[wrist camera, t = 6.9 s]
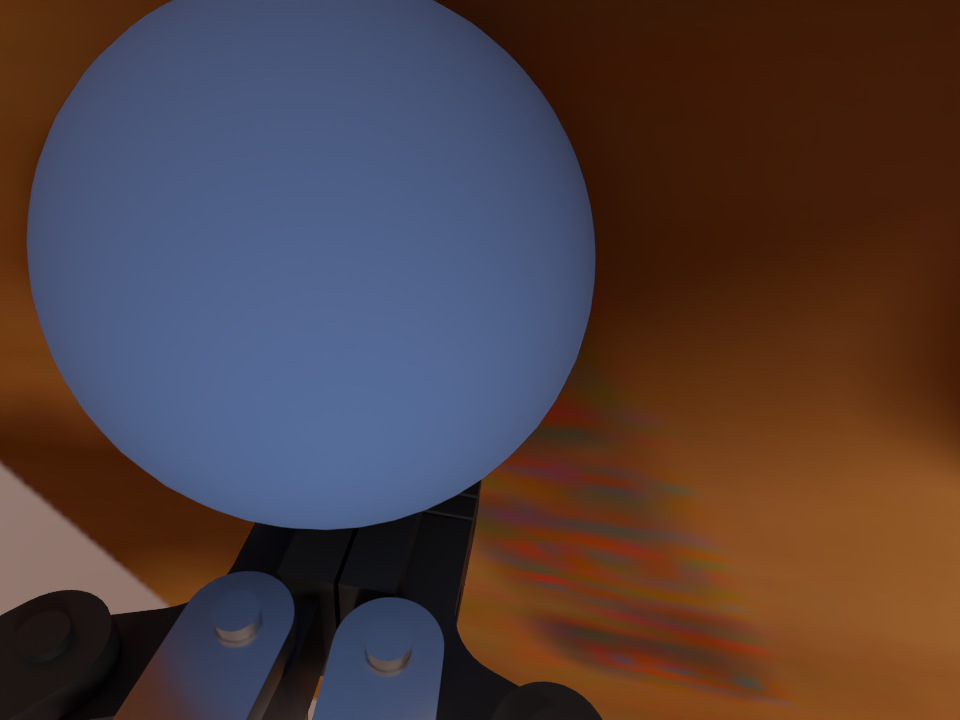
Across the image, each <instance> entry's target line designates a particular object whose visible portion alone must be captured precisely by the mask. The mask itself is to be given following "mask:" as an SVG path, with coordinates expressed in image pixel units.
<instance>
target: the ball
mask: <svg viewBox="0 0 960 720" xmlns="http://www.w3.org/2000/svg"><path fill="white" fill-rule="evenodd" d="M27 256H28V270H29V278H30V284H31V291H32V297H33V302H34V305H35V309H36V312H37V316H38V319H39V323H40V326H41V330H42V332H43V335H44V338H45V340H46V343H47V345H48V348H49V351H50V353H51V356H52V358H53V360H54V362H55V364H56V365H57V367H58V369H59V371H60V373H61V375H62V377H63V379H64V381H65V383H66V384H67V386H68V387H69V389H70V390H71V392H72V394H73V395H74V397H75V398H76V400H77V401H78V403H79V405H80V406H81V408H82V409H83V410H84V411H85V413H86V414H87V415H88V416H89V417H90V419H91V420H92V421H93V422H94V423H95V425H96V426H97V427H98V428H99V429H100V430H101V432H102V433H103V434H104V435H105V436H106V437H107V438H108V439H109V440H110V441H111V442H112V443H113V444H114V445H115V446H116V447H117V448H118V449H119V451H120V452H122V453H123V454H124V455H125V456H127V457H128V458H129V459H131V460H132V461H133V462H134V463H136V464H137V465H138V466H139V467H141V468H142V469H143V470H145V471H146V472H148V473H149V474H150V475H152V476H153V477H154V478H156V479H157V480H158V481H160V482H161V483H162V484H164V485H165V486H167V487H169V488H170V489H172V490H174V491H176V492H178V493H180V494H182V495H184V496H186V497H188V498H190V499H192V500H194V501H196V502H198V503H200V504H203V505H205V506H207V507H209V508H212V509H214V510H216V511H219V512H222V513H225V514H228V515H231V516H234V517H237V518H240V519H243V520H246V521H251V522H257V523H262V524H268V525H273V526H279V527H287V528H298V529H319V530H332V529H345V528H357V527H364V526H369V525H374V524H379V523H384V522H389V521H394V520H397V519H400V518H403V517H406V516H409V515H412V514H415V513H418V512H421V511H424V510H427V509H429V508H431V507H433V506H435V505H437V504H439V503H441V502H443V501H446V500H448V499H450V498H452V497H454V496H456V495H458V494H459V493H461V492H462V491H464V490H466V489H467V488H469V487H470V486H472V485H473V484H475V483H477V482H478V481H480V480H481V479H483V478H484V477H485V476H487V475H488V474H489V473H490V472H491V471H493V470H494V469H495V468H496V467H497V466H499V465H500V464H501V463H502V462H503V461H505V460H506V459H507V458H508V457H509V456H510V455H511V454H512V453H513V452H514V451H515V450H516V449H517V448H518V447H519V446H520V445H521V444H522V443H523V442H524V441H525V440H526V439H527V438H528V436H529V435H530V434H531V433H532V432H533V431H534V430H535V429H536V428H537V427H538V425H539V424H540V422H541V421H542V420H543V418H544V417H545V415H546V414H547V412H548V411H549V409H550V408H551V407H552V405H553V404H554V402H555V401H556V399H557V397H558V395H559V393H560V391H561V390H562V388H563V386H564V384H565V382H566V380H567V378H568V376H569V374H570V372H571V370H572V368H573V366H574V363H575V361H576V359H577V357H578V353H579V350H580V347H581V344H582V340H583V337H584V334H585V330H586V327H587V323H588V319H589V315H590V312H591V305H592V297H593V290H594V280H595V261H596V258H595V234H594V227H593V219H592V212H591V206H590V202H589V197H588V193H587V189H586V184H585V181H584V178H583V175H582V172H581V169H580V166H579V163H578V160H577V157H576V155H575V152H574V150H573V148H572V145H571V143H570V141H569V138H568V136H567V134H566V132H565V131H564V129H563V127H562V125H561V123H560V121H559V120H558V118H557V116H556V114H555V112H554V110H553V109H552V107H551V106H550V104H549V103H548V101H547V100H546V98H545V97H544V95H543V94H542V92H541V91H540V90H539V88H538V87H537V86H536V85H535V83H534V82H533V81H532V80H531V78H530V77H529V76H528V75H527V74H526V72H525V71H524V70H523V69H522V68H521V66H520V65H519V64H518V63H517V62H516V61H515V60H514V59H513V58H512V57H511V56H510V55H509V54H508V53H507V52H506V51H505V50H504V49H503V48H501V47H500V46H499V45H498V44H497V43H496V42H495V41H493V40H492V39H491V38H490V37H489V36H488V35H486V34H485V33H484V32H483V31H481V30H480V29H479V28H478V27H476V26H475V25H474V24H473V23H471V22H470V21H468V20H466V19H465V18H463V17H461V16H460V15H458V14H456V13H455V12H453V11H451V10H449V9H448V8H446V7H444V6H443V5H441V4H439V3H437V2H436V1H434V0H172V1H170V2H168V3H166V4H164V5H162V6H160V7H159V8H157V9H156V10H154V11H152V12H151V13H149V14H147V15H146V16H144V17H143V18H142V19H140V20H139V21H138V22H136V23H135V24H133V25H132V26H131V27H130V28H128V29H127V30H126V31H125V32H124V33H123V34H122V35H121V36H120V37H119V38H118V39H116V40H115V41H114V42H113V43H112V44H111V45H110V46H109V47H108V48H107V49H106V50H105V51H104V52H102V53H101V54H100V55H99V56H98V57H97V58H96V59H95V61H94V62H93V63H92V64H91V65H90V66H89V67H88V69H87V70H86V71H85V72H84V73H83V75H82V77H81V78H80V80H79V81H78V83H77V84H76V86H75V87H74V89H73V90H72V92H71V94H70V95H69V97H68V98H67V100H66V101H65V103H64V104H63V106H62V108H61V109H60V111H59V112H58V114H57V115H56V118H55V120H54V122H53V124H52V127H51V129H50V131H49V133H48V136H47V139H46V142H45V144H44V147H43V150H42V153H41V155H40V158H39V161H38V163H37V167H36V172H35V176H34V180H33V184H32V189H31V197H30V204H29V211H28V221H27Z"/></svg>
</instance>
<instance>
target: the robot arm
mask: <svg viewBox="0 0 960 720" xmlns="http://www.w3.org/2000/svg"><path fill="white" fill-rule="evenodd" d="M481 481H482V479H481V480H480V481H478V482H477V483H475V484H473V485H472V486H470V487H469V488H467V489H466V490H464V491H462V492H461V493H459V494H458V495H456V496H454V497H452V498H450V499H448V500H446V501H443V502H441V503H439V504H437V505H435V506H433V507H431V508H429V509H427V510H424V511H421V512H418V513H415V514H412V515H409V516H406V517H403V518H400V519H397V520H394V521H389V522H384V523H379V524H374V525H369V526H364V527H357V528H345V529H332V530H319V529H298V528H287V527H279V526H273V525H268V524H262V523H257V522H255V524H254V526H253V528H252V530H251V532H250V534H249V536H248V538H247V540H246V542H245V544H244V546H243V548H242V549H241V551H240V553H239V555H238V557H237V559H236V561H235V563H234V565H233V566H232V568H231V569H230V571H229V572H228V574H227V575H225V576H222V577H220V578H217V579H215V580H214V581H212V582H210V583H208V584H207V585H206V586H204V587H203V588H202V589H200V590H199V591H198V592H197V593H196V594H195V595H194V596H193V597H192V599H191V600H190V601H189V602H187V603H185V604H181V605H178V606H175V607H169V608H164V609H157V610H148V611H140V612H131V613H123V614H115V615H110V612H109V610H108V607H107V606H106V605H105V604H104V602H103V601H102V600H101V599H99V598H98V597H97V596H95V595H93V594H91V593H88V592H84V591H78V590H63V591H56V592H52V593H48V594H45V595H42V596H39V597H37V598H34V599H32V600H30V601H28V602H26V603H24V604H22V605H20V606H18V607H16V608H14V609H12V610H10V611H8V612H6V613H4V614H3V615H1V616H0V720H308V710H309V708H310V705H311V702H312V699H313V696H314V693H315V690H316V687H317V684H318V682H319V679H320V676H323V680H322V684H321V688H320V692H319V695H318V699H317V703H316V707H315V711H314V715H313V718H312V720H602V718H601V717H600V715H599V714H598V712H597V711H596V710H595V708H594V707H593V706H592V705H591V704H590V703H589V702H588V701H587V700H586V699H585V698H584V697H583V696H582V695H580V694H579V693H577V692H576V691H574V690H572V689H570V688H568V687H566V686H564V685H560V684H557V683H552V682H533V683H528V684H525V685H523V686H520V687H519V686H517V685H515V684H514V683H512V682H510V681H508V680H507V679H505V678H503V677H501V676H500V675H498V674H496V673H494V672H493V671H491V670H489V669H488V668H486V667H485V666H483V665H482V664H480V663H479V662H478V661H477V660H476V659H475V658H474V657H473V656H472V655H471V654H470V652H469V651H468V650H467V649H466V647H465V645H464V644H463V642H462V640H461V638H460V636H459V633H458V630H457V621H458V616H459V611H460V605H461V600H462V595H463V590H464V585H465V579H466V574H467V569H468V564H469V558H470V554H471V549H472V543H473V538H474V533H475V527H476V520H477V512H478V504H479V497H480V489H481Z"/></svg>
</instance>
